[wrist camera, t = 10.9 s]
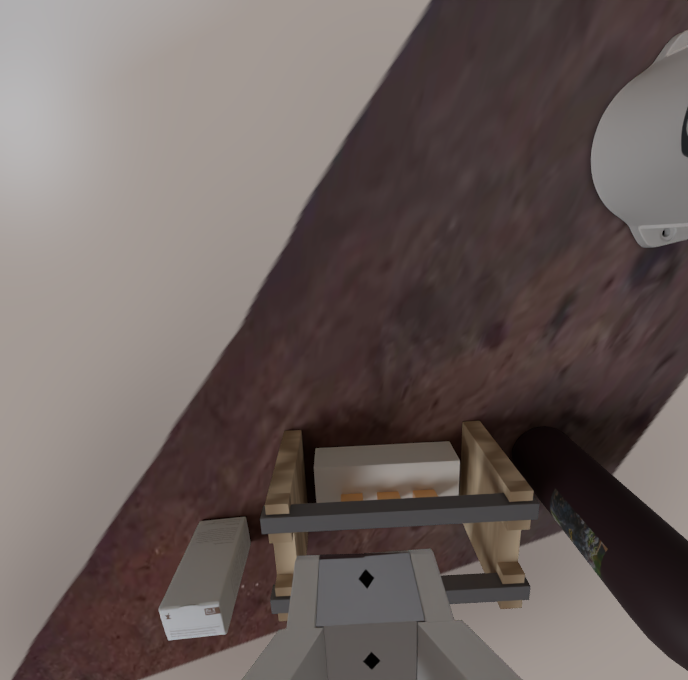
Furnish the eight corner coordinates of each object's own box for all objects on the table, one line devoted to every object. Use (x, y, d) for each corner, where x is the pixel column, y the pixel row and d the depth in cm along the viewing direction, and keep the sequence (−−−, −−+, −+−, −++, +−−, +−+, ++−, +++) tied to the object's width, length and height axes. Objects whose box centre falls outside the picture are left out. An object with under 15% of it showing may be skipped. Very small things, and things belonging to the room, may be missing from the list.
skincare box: (206, 546, 48) (165, 645, 37) (199, 517, 47) (154, 610, 35) (253, 541, 48) (227, 639, 37) (248, 512, 47) (218, 603, 35)
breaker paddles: (433, 489, 42) (441, 501, 39) (434, 498, 42) (441, 510, 39) (340, 494, 42) (340, 506, 39) (341, 503, 42) (341, 516, 39)
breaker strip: (449, 441, 45) (459, 460, 41) (447, 498, 47) (457, 521, 43) (315, 448, 45) (313, 468, 41) (319, 504, 47) (318, 528, 43)
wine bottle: (503, 436, 45) (805, 799, 16) (561, 416, 44) (982, 754, 15) (518, 483, 47) (813, 886, 18) (573, 464, 46) (972, 848, 17)
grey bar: (522, 571, 36) (530, 586, 35) (520, 584, 37) (528, 599, 35) (273, 584, 36) (270, 600, 35) (274, 597, 36) (272, 613, 35)
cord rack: (479, 420, 44) (533, 490, 32) (474, 513, 48) (521, 607, 36) (284, 430, 44) (264, 505, 32) (293, 523, 48) (278, 621, 35)
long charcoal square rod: (530, 491, 34) (539, 503, 32) (528, 506, 34) (537, 519, 33) (263, 505, 34) (259, 518, 32) (265, 520, 34) (261, 534, 33)
